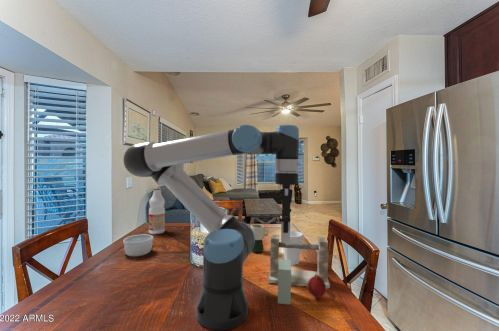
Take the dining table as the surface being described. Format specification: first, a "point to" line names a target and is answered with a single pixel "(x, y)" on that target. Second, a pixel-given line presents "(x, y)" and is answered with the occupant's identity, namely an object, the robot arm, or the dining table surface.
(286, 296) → the grey u-shaped block
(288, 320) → the dining table surface
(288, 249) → the foam cup
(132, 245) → the ramekin
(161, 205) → the fruit juice
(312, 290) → the onion
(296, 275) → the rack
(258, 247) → the character mug
